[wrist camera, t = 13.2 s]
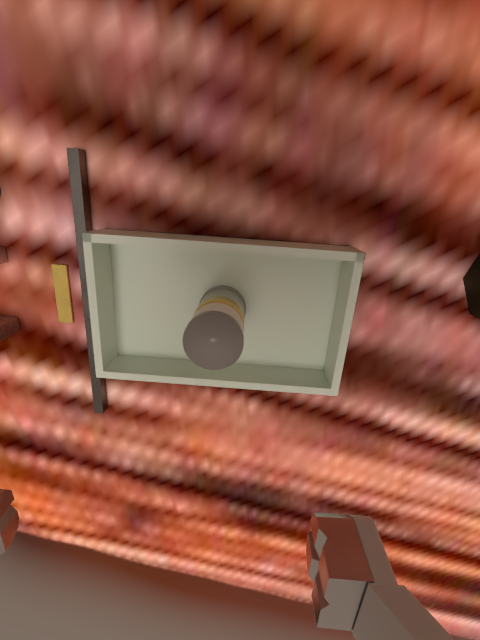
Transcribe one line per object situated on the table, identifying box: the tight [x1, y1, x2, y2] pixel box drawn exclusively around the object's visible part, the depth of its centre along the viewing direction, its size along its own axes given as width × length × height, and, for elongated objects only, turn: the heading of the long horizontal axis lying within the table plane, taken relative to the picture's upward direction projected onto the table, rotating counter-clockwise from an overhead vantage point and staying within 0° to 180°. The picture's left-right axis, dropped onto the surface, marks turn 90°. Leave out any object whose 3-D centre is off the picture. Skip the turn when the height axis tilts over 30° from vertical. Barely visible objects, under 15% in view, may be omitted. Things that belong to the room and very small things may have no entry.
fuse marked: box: [182, 285, 246, 370], centre depth 23 cm, size 4×4×7 cm
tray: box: [82, 229, 366, 396], centre depth 26 cm, size 11×19×4 cm, turn 86°
